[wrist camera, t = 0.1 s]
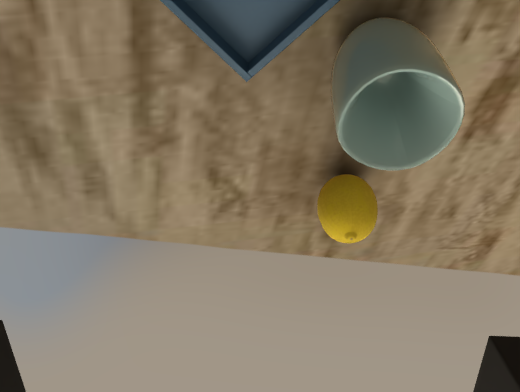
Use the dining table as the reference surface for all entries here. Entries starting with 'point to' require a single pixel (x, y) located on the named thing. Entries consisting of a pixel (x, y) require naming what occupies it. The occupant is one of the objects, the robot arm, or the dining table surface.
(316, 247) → the dining table surface
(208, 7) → the tray
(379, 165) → the cup
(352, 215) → the lemon
